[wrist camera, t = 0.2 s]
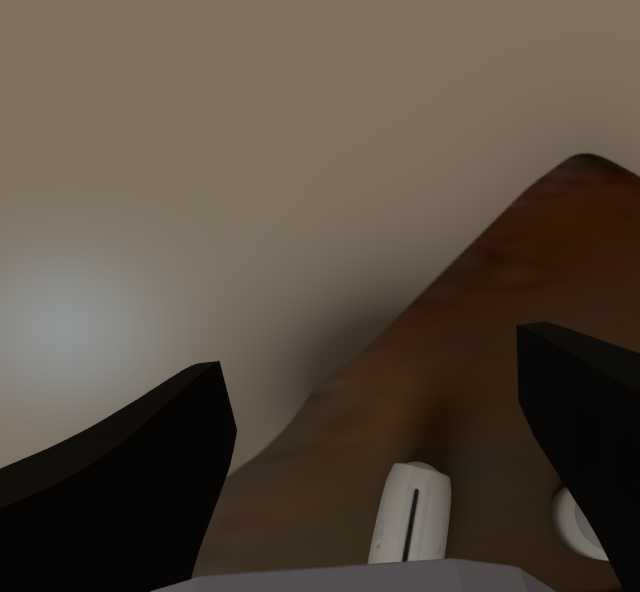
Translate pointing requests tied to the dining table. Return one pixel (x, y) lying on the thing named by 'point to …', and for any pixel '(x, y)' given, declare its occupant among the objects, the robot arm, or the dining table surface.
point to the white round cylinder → (574, 527)
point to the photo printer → (412, 515)
